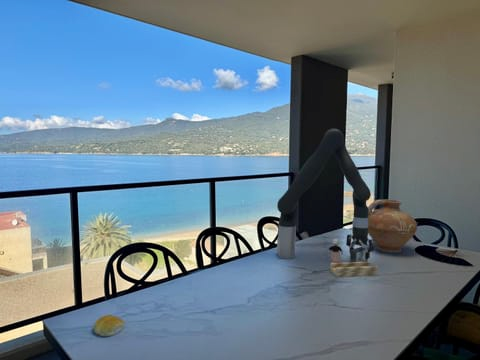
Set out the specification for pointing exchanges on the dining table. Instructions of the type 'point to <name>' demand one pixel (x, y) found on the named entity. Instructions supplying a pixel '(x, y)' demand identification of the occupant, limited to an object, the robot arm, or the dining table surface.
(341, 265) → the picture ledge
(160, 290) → the dining table surface
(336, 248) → the grandmother figurine
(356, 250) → the dark grey block
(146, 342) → the dining table surface
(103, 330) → the bread roll
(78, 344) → the dining table surface
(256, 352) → the dining table surface
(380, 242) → the jug
